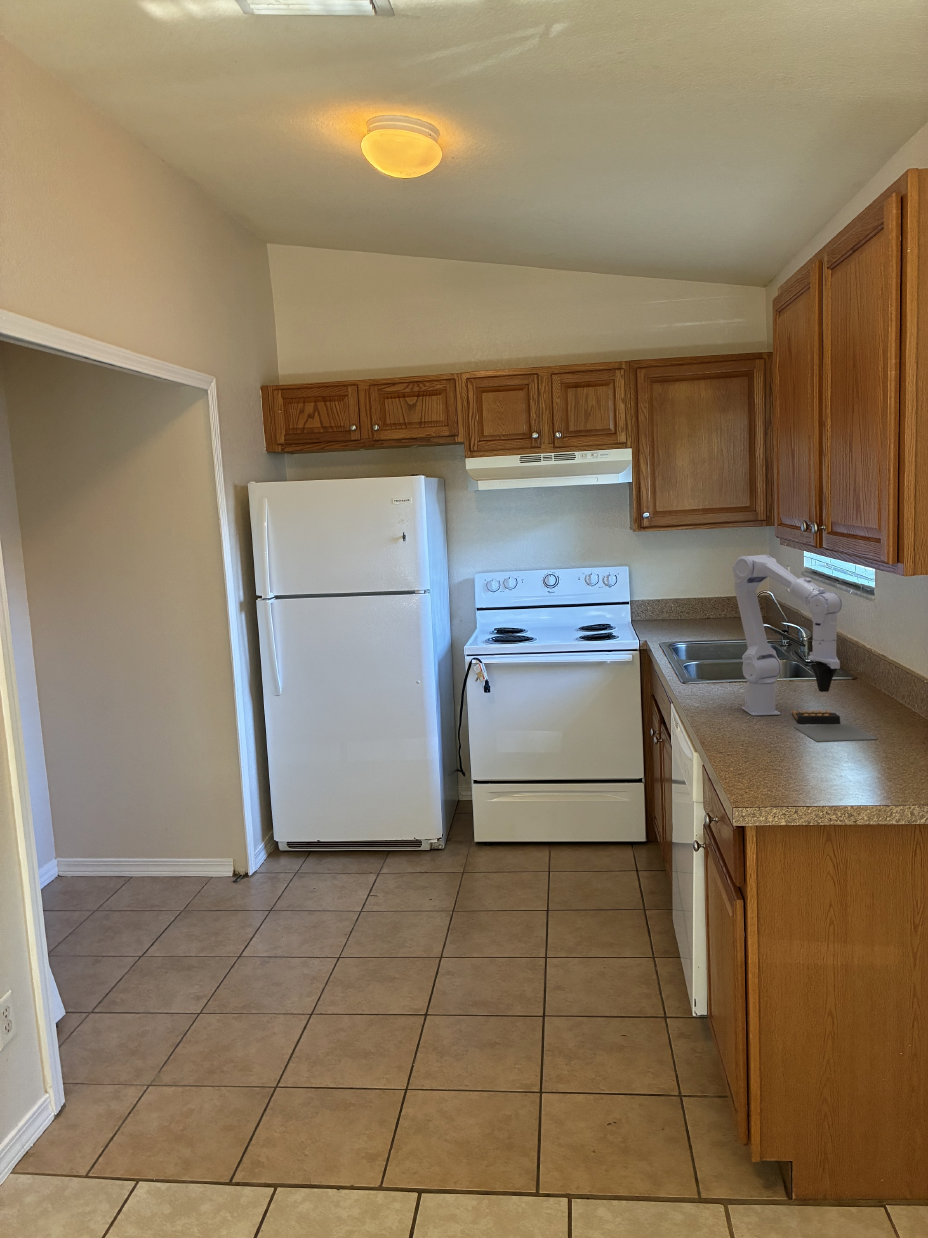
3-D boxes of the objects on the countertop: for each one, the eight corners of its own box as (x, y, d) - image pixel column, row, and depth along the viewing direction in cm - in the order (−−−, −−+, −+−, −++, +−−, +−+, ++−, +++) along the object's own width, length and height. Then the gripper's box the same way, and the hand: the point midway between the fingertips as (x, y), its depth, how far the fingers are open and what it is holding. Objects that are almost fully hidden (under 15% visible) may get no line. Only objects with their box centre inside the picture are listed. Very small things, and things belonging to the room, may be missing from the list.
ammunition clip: (840, 723, 245) (829, 714, 256) (840, 716, 244) (829, 707, 256) (797, 723, 246) (789, 714, 258) (798, 716, 246) (789, 707, 258)
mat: (793, 727, 243) (793, 726, 243) (850, 725, 243) (850, 724, 243) (816, 742, 228) (816, 741, 228) (877, 740, 228) (877, 738, 228)
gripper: (798, 636, 247) (797, 686, 248) (820, 644, 232) (819, 697, 234) (824, 635, 247) (824, 685, 248) (848, 643, 232) (847, 696, 234)
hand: (823, 691), depth 241 cm, fingers closed
